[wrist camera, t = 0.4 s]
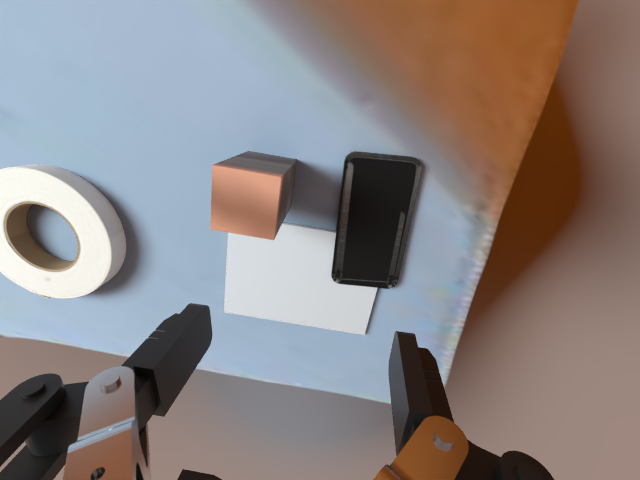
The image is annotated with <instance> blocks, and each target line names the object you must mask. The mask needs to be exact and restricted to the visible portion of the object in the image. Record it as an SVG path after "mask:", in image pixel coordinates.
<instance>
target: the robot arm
mask: <svg viewBox="0 0 640 480" xmlns="http://www.w3.org/2000/svg"><path fill="white" fill-rule="evenodd" d="M211 340H212V326H211V317H210V309H209V307H208V306H207V305H200V304H192V303H190V304H188V305H187V306H186V308H185V309H184V310H183V311H182V312H181V313H180V314H174V315H172V316H171V317H169V318H167V319H166V320H164V321H163V322H162V323H161V324H160V325H159V326H158V327H157V328H156V331H154V332H153V333H152V334H151V335H150V336H149V338H148V339H146V340H145V341H144V342H143V343H142V344H141V346H140V347H139V348H138V349H137V350H136V351H135V352H134V353H133V354H132V355H131V356H130V357H129V358H128V359H127V360H126V362H125V363H124V364H123V365H122V366H118V367H113V368H109V369H107V370H105V371H102V372H101V373H99V374H98V375H96V376H95V377H94V378H93V379H92V380H91V381H90V382H83V383H74V384H66V385H64V384H63V382H62V379H61V377H60V376H59V375H56V374H43V375H39V376H36V377H33V378H30V379H28V380H26V381H25V382H23V383H21V384H19V385H18V386H17V387H15V388H14V389H13V390H12V391H10V392H9V393H8V394H7V395H6V396H5V397H4V398H2V399H1V400H0V466H1V465H2V464H3V463H4V462H5V461H6V460H7V459H8V458H9V457H10V456H11V455H12V454H13V453H14V452H15V451H16V449H18V447H19V446H20V445H21V444H22V443H23V442H24V441H25V443H26V446H25V447H24V448H23V449H22V450H21V451H20V452H19V453H18V454H17V455H16V456H15V457H14V458H13V459H12V461H11V462H10V463H9V464H8V465H7V466H6V467H5V468H4V469H3V470H2V471H1V472H0V480H53V479H54V478H55V477H56V475H57V474H58V473H59V471H60V470H61V469H62V468H63V466H64V465H65V469H64V475H63V480H151V471H150V454H149V437H148V425H147V422H148V421H149V419H150V418H151V416H152V415H157V416H165V415H166V413H167V412H168V410H169V408H170V407H171V405H172V404H173V402H174V401H175V399H176V397H177V396H178V394H179V393H180V391H181V390H182V388H183V386H184V385H185V384H186V382H187V380H188V379H189V377H190V376H191V374H192V373H193V371H194V370H195V368H196V367H197V365H198V363H199V362H200V360H201V359H202V357H203V356H204V354H205V353H206V351H207V350H208V348H209V346H210V343H211ZM389 383H390V394H391V404H392V415H393V425H394V435H395V446H396V456H397V457H396V459H395V460H394V461H393V463H392V464H391V465H390V466H388V465H385V466H384V467H383V468H382V469H381V470H380V471H379V473H378V474H377V475H376V477H375V478H374V479H373V480H554V479H553V477H552V476H551V474H550V473H549V472H548V470H547V469H546V468H545V467H544V466H543V465H542V464H541V463H539V462H538V461H537V460H535V459H534V458H532V457H531V456H529V455H527V454H525V453H522V452H519V451H508V452H506V453H504V454H503V455H502V457H499V456H497V455H495V454H493V453H491V452H488V451H486V450H484V449H482V448H480V447H478V446H476V445H474V444H473V443H471V442H470V441H469V440H468V439H467V438H466V436H465V434H464V433H463V431H462V430H461V429H460V428H459V427H458V426H457V425H456V424H455V423H454V421H453V418H452V414H451V411H450V407H449V404H448V400H447V397H446V394H445V390H444V386H443V383H442V380H441V376H440V373H439V369H438V366H437V362H436V359H435V358H434V357H433V355H432V354H431V353H430V351H429V350H428V349H426V348H419V347H418V345H417V341H416V337H415V334H413V333H405V332H398V331H396V332H395V335H394V339H393V344H392V349H391V354H390V359H389ZM178 480H222V479H220V478H218V477H216V476H215V475H210V474H205V473H200V472H195V471H189V470H184V469H183V470H182V472H181V474H180V476H179V478H178Z"/></svg>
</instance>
